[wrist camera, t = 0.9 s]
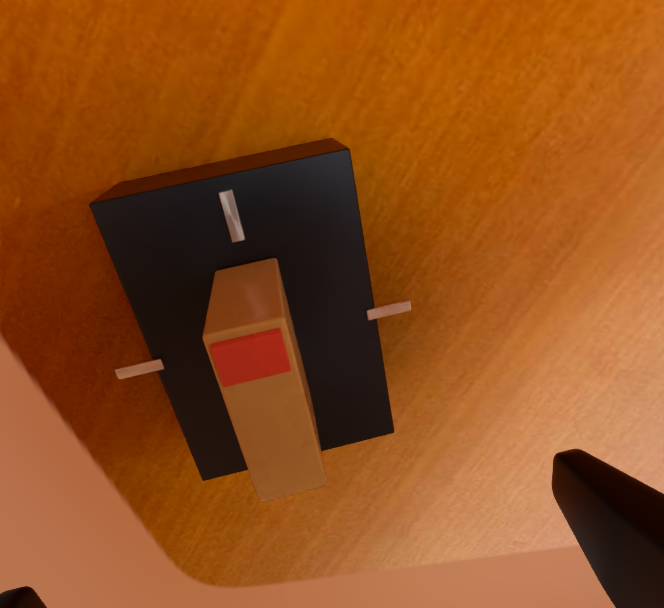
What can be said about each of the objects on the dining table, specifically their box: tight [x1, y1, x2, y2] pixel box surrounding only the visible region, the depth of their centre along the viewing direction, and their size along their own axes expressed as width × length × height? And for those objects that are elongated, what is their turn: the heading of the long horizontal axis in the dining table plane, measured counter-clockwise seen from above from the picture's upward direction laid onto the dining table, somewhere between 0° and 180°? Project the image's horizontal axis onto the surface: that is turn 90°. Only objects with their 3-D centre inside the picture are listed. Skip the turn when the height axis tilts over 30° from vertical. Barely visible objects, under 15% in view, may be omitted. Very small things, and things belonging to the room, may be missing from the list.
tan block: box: [202, 258, 327, 502], centre depth 13 cm, size 5×2×4 cm, turn 10°
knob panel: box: [89, 138, 411, 481], centre depth 16 cm, size 10×9×3 cm
